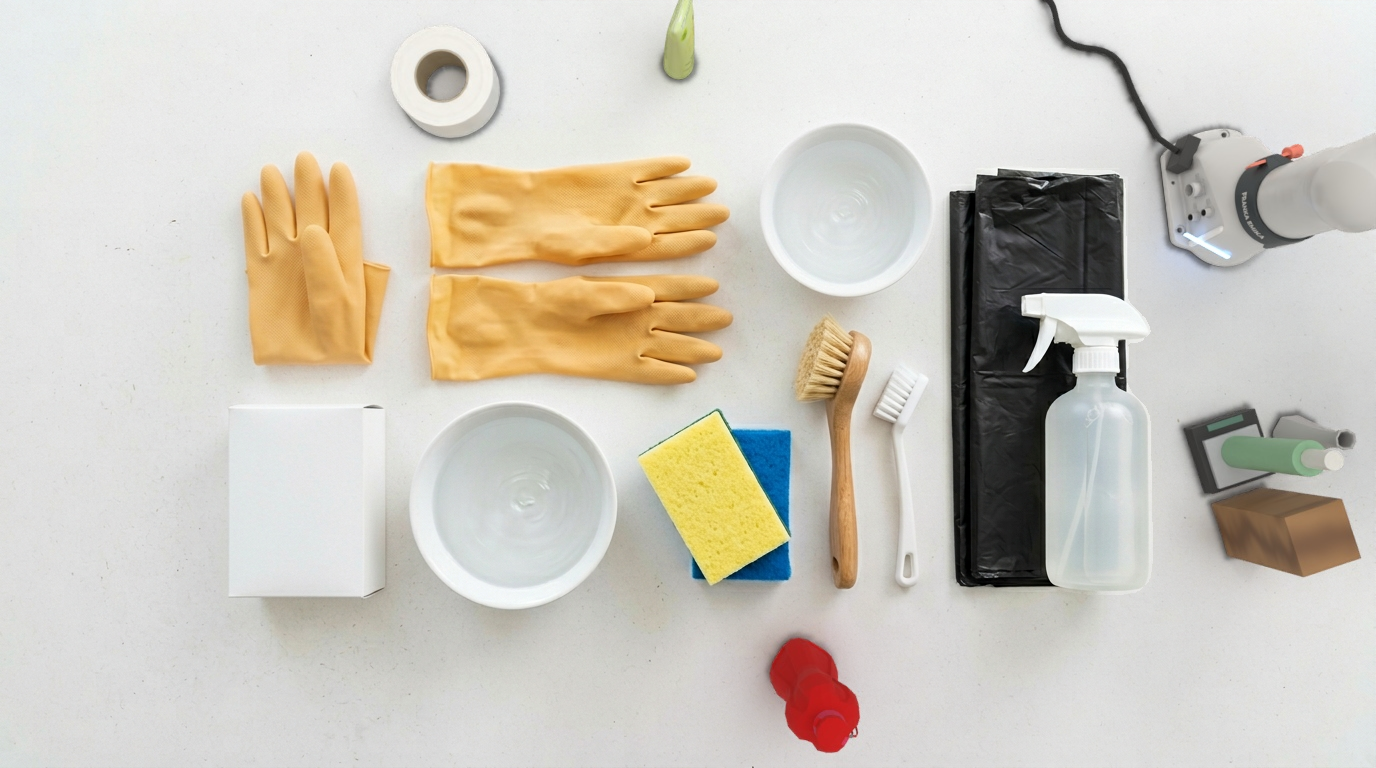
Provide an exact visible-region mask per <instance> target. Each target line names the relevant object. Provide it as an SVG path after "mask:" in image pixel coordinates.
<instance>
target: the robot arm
mask: <svg viewBox="0 0 1376 768" xmlns="http://www.w3.org/2000/svg"><path fill="white" fill-rule="evenodd" d="M1042 1H1043V2H1045V3H1046V4H1047V5H1048V7H1049V9H1050V12H1051V16H1052V20H1053V25H1054V29H1055V31H1056V34H1057V36H1058V37H1059V39H1060V40H1061V41H1062V42H1063V43H1064V44H1066V45H1067V46H1069V47H1071V48H1072V49H1076V50H1079V51H1084V52H1090V53H1091V52H1092V53H1096V54H1097V53H1098V54H1100V55H1104V56H1106V57H1108V58H1109V59H1110V60H1112V61H1113V62H1114V63H1115V65H1117V67H1118V68H1119V70H1120V72H1121V74H1122V76H1123V79H1124V81H1125V85H1126V87H1127V89H1128V92H1129V94H1130V97H1131V98H1132V100H1133V102H1134V104H1135V106H1136V108H1137V110H1138V112H1139V114H1140V116H1141V119H1142V120H1143V122H1144V124H1145V125H1146V128H1147V129H1148V131H1149V132H1150V134H1151V135H1152V137H1153V138H1154V140H1155V141H1156V142H1157V143H1158V144H1160V145H1161V146H1163V147H1164V148H1166V149H1165V151H1164V152H1163V153H1162V154H1161V156H1160V159H1159V160H1160V161H1159V162H1160V169H1161V177H1162V185H1163V186H1162V187H1163V193H1164V201H1165V202H1164V203H1165V209H1166V211H1165V212H1166V217H1167V225H1168V226H1167V227H1168V235H1169V240H1170V242H1171V244H1172V245H1174V246H1175V247H1178V248H1180V249H1184V250H1188V251H1189V252H1191V253H1192V254H1194V255H1195V256H1196V257H1197V258H1198V259H1200V260H1201V261H1203V262H1205V263H1207V264H1209V265H1213V266H1217V267H1223V268H1225V267H1226V268H1227V267H1234V266H1238V265H1241V264H1243V263H1246V262H1247V261H1249V260H1250V259H1251V258H1253V257H1254V256H1256V255H1258V254H1260V253H1262V252H1264V251H1266V250H1269V249H1270V250H1271V249H1279V248H1283V247H1289V246H1292V245H1295V244H1299V243H1302V242H1304V241H1307V240H1308V239H1311V238H1313V237H1314V236H1316V235H1319V234H1324V233H1327V232H1332V231H1335V230H1337V231H1339V232H1343V233H1347V234H1359V233H1364V232H1365V233H1366V232H1369V231H1372V230H1376V131H1375V132H1373V133H1371V134H1368V135H1366V136H1363V137H1362V138H1360V139H1357V140H1354V141H1352V142H1349V143H1346V144H1344V145H1341V146H1331V147H1327V148H1324V149H1321V150H1319V151H1316V152H1313V153H1311V154H1309V155H1305V156H1303V154H1304V153H1305V149H1304V146H1303V145H1301V144H1299V143H1296V144H1293V145H1291V146H1286V147H1284V148H1283V149H1282V150H1281V154H1280V153H1274V152H1273V151H1272V150H1271V149H1269V147H1267V146H1266V144H1264V143H1263V141H1262V140H1260V139H1259V138H1257V137H1256V136H1252V135H1251V136H1250V135H1243V134H1242V133H1241V132H1240V131H1238V130H1235V129H1230V128H1214V129H1209V130H1205V131H1204V130H1203V131H1201V132H1198V133H1195V134H1190V133H1188V134H1186V135H1184V136H1182V137H1180V138H1178V139H1177V140H1176V141H1175V142H1174V143H1171V142H1170V141H1168V140H1167V139H1166V138H1164V137H1162V135H1161V134H1160V133H1159V131H1158V130H1157V128H1156V126H1155V125H1154V124H1153V122H1152V119H1151V118H1150V116H1149V114H1148V112H1147V110H1146V108H1145V106H1144V104H1143V102H1142V100H1141V98H1140V96H1139V94H1138V91H1137V90H1136V88H1135V85H1134V83H1133V80H1132V77H1131V75H1130V72H1129V70H1128V68H1127V66H1126V64H1125V62H1123V60H1122V59H1121V58H1120V57H1119V56H1118V55H1117V54H1116V53H1115V52H1114V51H1111V50H1110V49H1107V48H1105V47H1102V46H1096V45H1089V44H1083V43H1079V42H1077V41H1075V40H1072V39H1071V38H1070V37H1069V36H1068V35H1066V33H1065V31H1064V30H1063V28H1062V24H1061V20H1060V16H1059V12H1058V8H1057V5H1056V2H1055V0H1042ZM1302 156H1303V157H1302ZM1293 159H1295V160H1293Z"/></svg>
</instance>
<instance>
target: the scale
mask: <svg viewBox="0 0 1376 768" xmlns="http://www.w3.org/2000/svg"><path fill="white" fill-rule="evenodd" d="M1183 431H1184V435H1185V437H1186V441H1187V444H1188V447H1189V450H1190V454H1191V456H1192V459H1193V462H1194V463H1193V464H1194V465H1195V468H1196V471H1197V475H1198V478H1199V482H1200V484H1201V487H1202V490H1203V493H1204V494H1209V495H1216V494H1218V493H1221V492H1224V491H1227V490H1230V489H1233V488H1237V487H1239V486H1242V485H1243V486H1244V485H1245V484H1249V483H1251V482H1254V481H1257V480H1260V479H1265V478H1267V477H1270V476H1273V475H1276V474H1277V473H1273V472H1265V471H1257V470H1248V469H1240V468H1233V467H1231V466H1229V465H1227V464H1226V463H1225V461H1224V460H1223V458H1222V454H1221V449H1222V445H1223V443H1224V442H1225V441H1226V440H1227V439H1228V438H1230V437H1232V436H1252V437H1265V436H1264V432H1263V429H1262V426H1261V423H1260V420H1259V417H1258V414H1257V411H1256V408H1243V409H1240V410H1238V411H1237V410H1236V411H1234V412H1230V413H1227V414H1225V415H1222V416H1219V417H1215V418H1212V419H1209V420H1206V421H1202V422H1201V423H1197V424H1194V425H1191V426H1188V427H1185V428H1183Z"/></svg>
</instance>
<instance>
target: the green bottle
mask: <svg viewBox="0 0 1376 768" xmlns="http://www.w3.org/2000/svg"><path fill="white" fill-rule="evenodd" d="M1221 454H1222V458H1223V460H1224V461H1225V463H1226V464H1227V465H1229V466H1231V467H1233V468H1240V469H1248V470H1257V471H1265V472H1273V473H1276V474H1282V475H1283V474H1284V475H1290V476H1291V475H1292V476H1300V477H1307V478H1308V477H1309V478H1312V477H1316V476H1319V475H1321V474H1322V473H1323V471H1329V472H1337V471H1339V470H1341V469H1342V467H1343V466H1344V464H1345V458H1344V456H1343V454H1342V453H1341V452H1340V451H1338V450H1336V449H1335V450H1332V449H1324V447H1323V446H1322V445H1321V444H1320V443H1318V442H1316V441H1313V440H1300V439H1284V438H1273V437H1268V436H1267V437H1265V436H1264V437H1252V436H1232V437H1230V438H1228V439H1227V440H1226V441H1225V442H1224V443H1223V445H1222V449H1221Z"/></svg>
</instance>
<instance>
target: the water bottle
mask: <svg viewBox="0 0 1376 768" xmlns="http://www.w3.org/2000/svg"><path fill="white" fill-rule="evenodd" d="M769 679H770V684H771V685H772V687H773V689H774V691H775V693H776V695H777V696H779V697H780V698H781V699H782V700H783V701H785V708H784V716H785V720H786V724H787V727H788V729H789V730H790V731H791V732H792V733H793V734H794V735H795V736H796V737H797V739H798V740H799V741H807V742H809V743H811V744H812V745H813V747H814V748H815V750H816V751H817V752H822V753H825V754H834V753H839V752H840V751H841V750H842V749H843V748H845V746H846V745H847V743H848V742H849V740H850V739H855V738H857V736H858V735H859V729H858V725H859V722H860V719H861V714H860V713H861V712H860V703H859V700H858V697H857V695H856V694H855V693H854V692H853V691H852V690H851V689H850V688H849V686H848V685H846V684H844V683H842V682H841V681H840V680H839V671H838V667H837V665H836V662H835V659H834V658H833V656H832V655H831V654H830V653H829V652H828V651H826V650H825V649H824V648H822V647H821V646H819V645H817V644H815V642H814V643H813V642H812V641H810V640H808V639H804V638H801V637H795V638H790V640H788V641H787V642H786V643H784V645H783V646H781V648H780V650H779V651H778V653H777V655H776V656H775V657H774V659H773V661H772V664H771V667H770V671H769ZM854 730H855V733H856V734H854Z"/></svg>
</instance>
